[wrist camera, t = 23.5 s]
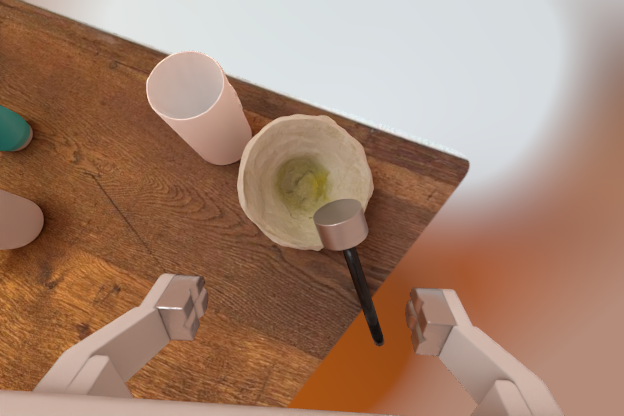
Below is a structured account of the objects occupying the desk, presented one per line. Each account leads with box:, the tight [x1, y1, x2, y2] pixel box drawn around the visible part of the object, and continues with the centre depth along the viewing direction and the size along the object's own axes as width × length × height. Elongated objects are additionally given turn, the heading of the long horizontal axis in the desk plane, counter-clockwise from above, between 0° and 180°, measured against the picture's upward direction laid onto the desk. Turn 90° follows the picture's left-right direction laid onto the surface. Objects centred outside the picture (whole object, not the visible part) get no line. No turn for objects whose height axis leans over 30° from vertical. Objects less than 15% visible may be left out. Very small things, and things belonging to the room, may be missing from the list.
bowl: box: [237, 114, 374, 251], centre depth 33 cm, size 15×14×10 cm
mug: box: [146, 51, 252, 165], centre depth 34 cm, size 8×12×12 cm
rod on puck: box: [313, 199, 384, 347], centre depth 32 cm, size 5×5×20 cm
